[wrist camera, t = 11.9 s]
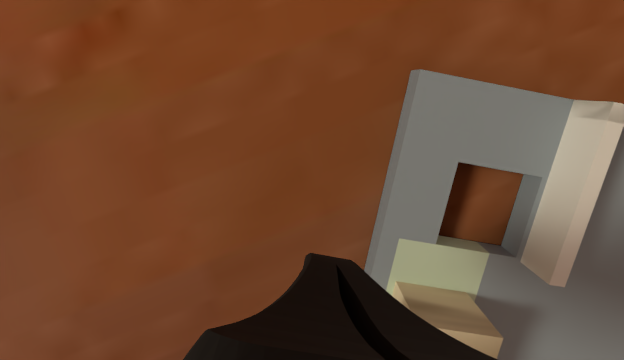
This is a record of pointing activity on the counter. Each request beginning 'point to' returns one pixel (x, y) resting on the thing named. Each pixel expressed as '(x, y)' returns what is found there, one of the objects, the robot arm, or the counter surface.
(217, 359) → the robot arm
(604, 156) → the cubby
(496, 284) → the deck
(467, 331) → the block
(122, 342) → the counter surface
